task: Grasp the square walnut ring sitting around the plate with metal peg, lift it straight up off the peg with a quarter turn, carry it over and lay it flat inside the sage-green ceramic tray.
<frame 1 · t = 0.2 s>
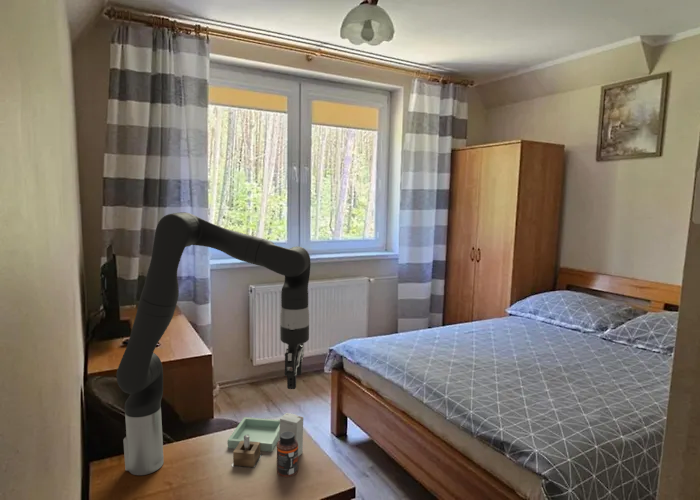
hand: (294, 381, 120), 28 cm above the table, fingers open, 8 cm apart
supplement bottle: (287, 472, 127), on the table
tray: (257, 438, 144), on the table
plate with metal peg: (247, 461, 132), on the table
ring: (247, 459, 132), point 1 cm above the table, touching plate with metal peg
skincare box: (291, 455, 135), on the table
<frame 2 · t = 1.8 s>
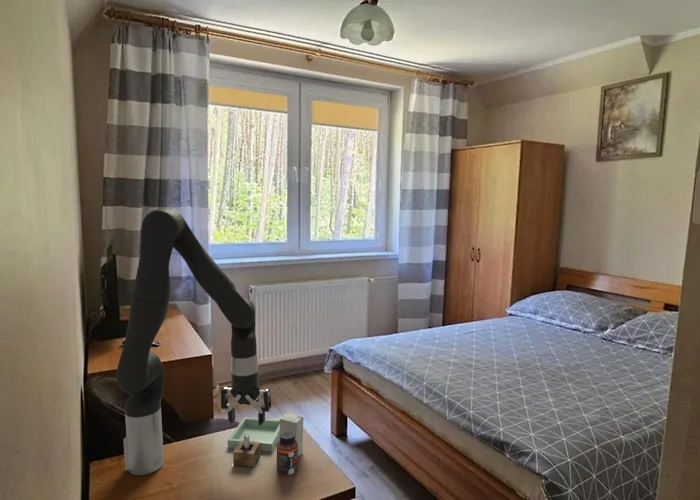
hand: (246, 422, 130), 12 cm above the table, fingers open, 8 cm apart
nothing on the table moved.
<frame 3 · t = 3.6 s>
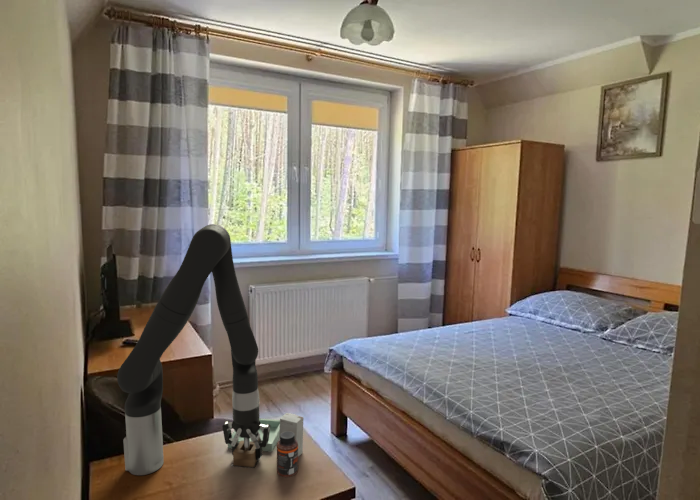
hand: (247, 457, 131), 1 cm above the table, fingers closed on ring, 6 cm apart
ring: (247, 459, 132), point 1 cm above the table, touching gripper, plate with metal peg
everything else where it was.
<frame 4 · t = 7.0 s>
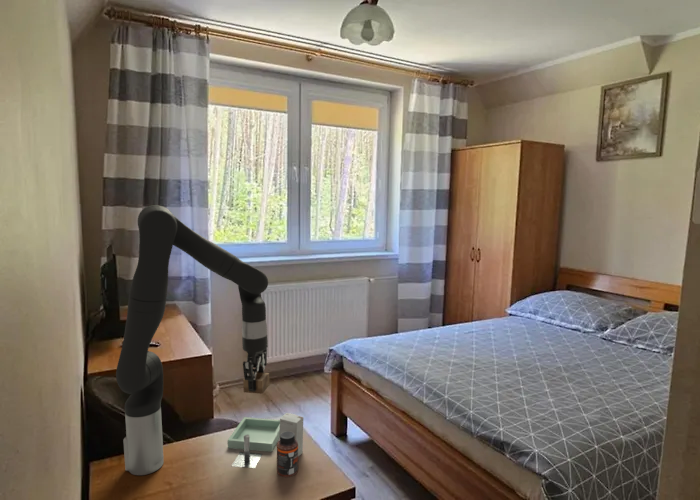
hand: (256, 386, 139), 19 cm above the table, fingers closed on ring, 6 cm apart
ring: (256, 388, 139), point 18 cm above the table, touching gripper
everything else where it was.
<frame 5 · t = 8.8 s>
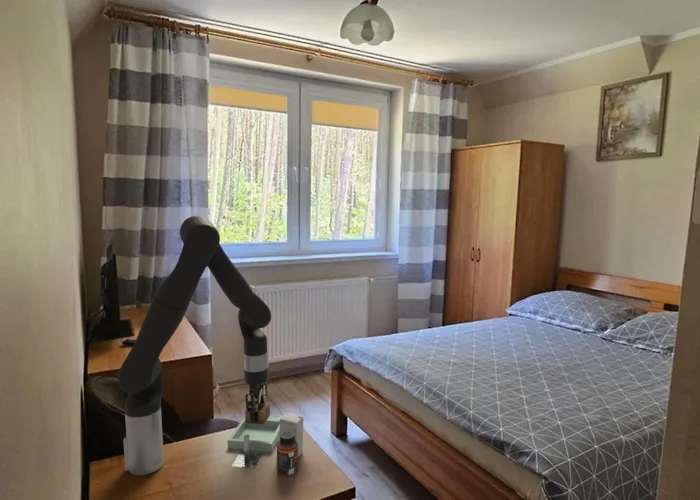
hand: (257, 416, 142), 8 cm above the table, fingers closed on ring, 6 cm apart
ring: (258, 418, 142), point 7 cm above the table, touching gripper
everything else where it was.
when the fingers open (3 cm above the table, at t = 10.5 s): ring drops 2 cm, resting on tray.
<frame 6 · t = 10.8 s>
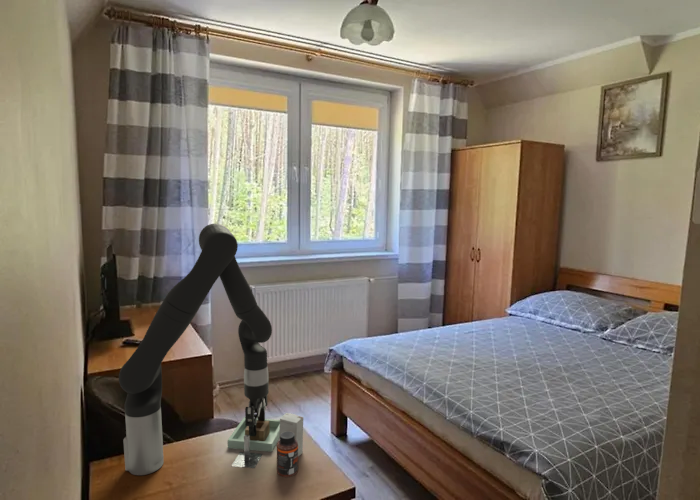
hand: (257, 428, 143), 4 cm above the table, fingers open, 8 cm apart
ring: (257, 437, 143), point 1 cm above the table, touching tray
everything else where it was.
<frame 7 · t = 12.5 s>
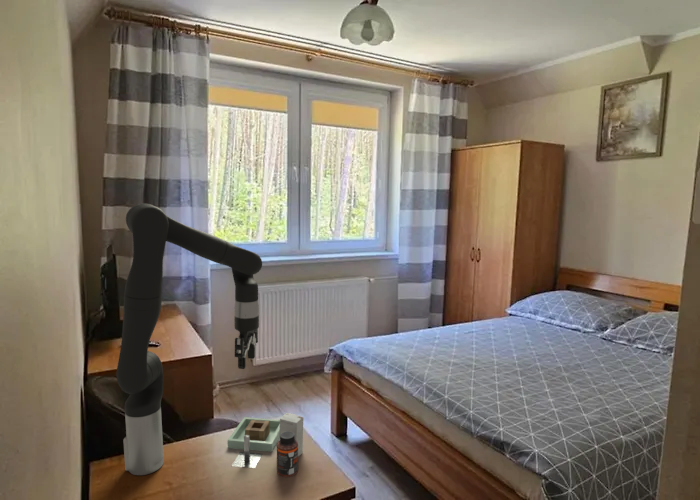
hand: (246, 363, 143), 24 cm above the table, fingers open, 8 cm apart
nothing on the table moved.
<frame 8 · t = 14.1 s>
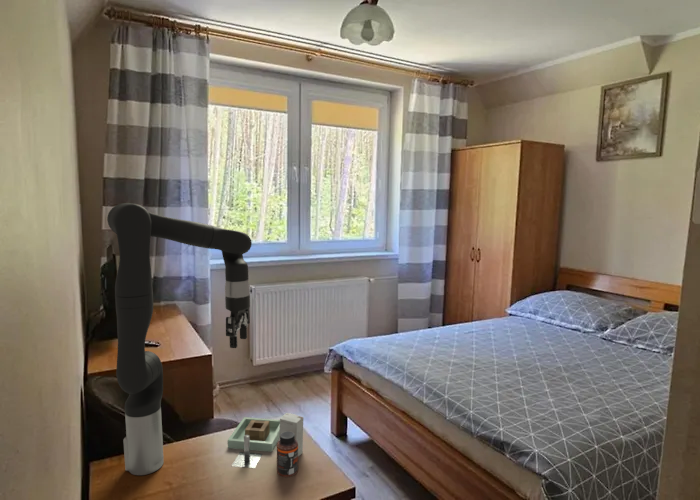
hand: (238, 343, 144), 30 cm above the table, fingers open, 8 cm apart
nothing on the table moved.
at the end: ring inside the target area on the tray (0.1 cm from its centre), point 0.6 cm above the tray's base; ring tilted 0°; the gripper is holding nothing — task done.
